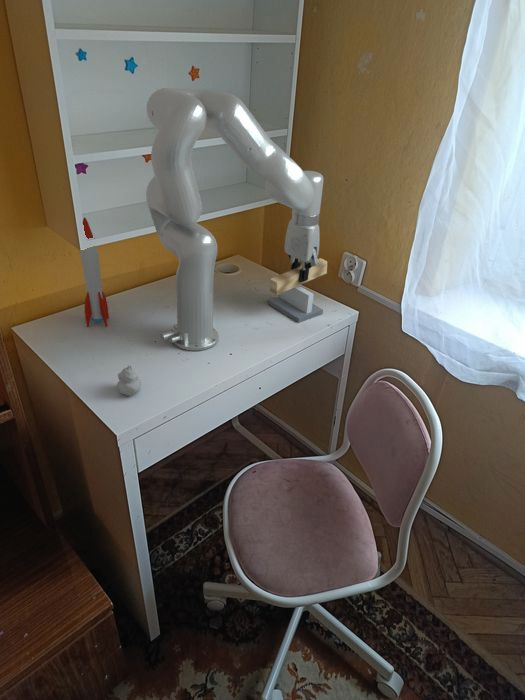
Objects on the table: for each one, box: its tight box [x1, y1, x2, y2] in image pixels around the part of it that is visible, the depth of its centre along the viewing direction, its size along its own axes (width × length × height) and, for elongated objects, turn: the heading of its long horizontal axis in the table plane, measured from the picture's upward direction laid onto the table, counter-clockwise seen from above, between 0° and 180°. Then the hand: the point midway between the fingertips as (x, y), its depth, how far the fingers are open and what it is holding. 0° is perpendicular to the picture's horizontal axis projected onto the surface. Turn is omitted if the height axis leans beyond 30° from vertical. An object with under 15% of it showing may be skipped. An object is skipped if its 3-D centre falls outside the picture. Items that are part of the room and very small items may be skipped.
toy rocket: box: [79, 217, 110, 328], centre depth 132 cm, size 6×6×30 cm
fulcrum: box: [267, 285, 324, 324], centre depth 152 cm, size 10×14×8 cm
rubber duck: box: [116, 364, 142, 396], centre depth 113 cm, size 5×7×8 cm
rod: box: [269, 257, 328, 295], centre depth 148 cm, size 20×3×4 cm, turn 129°
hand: (299, 278), depth 149 cm, fingers closed on rod, 3 cm apart
